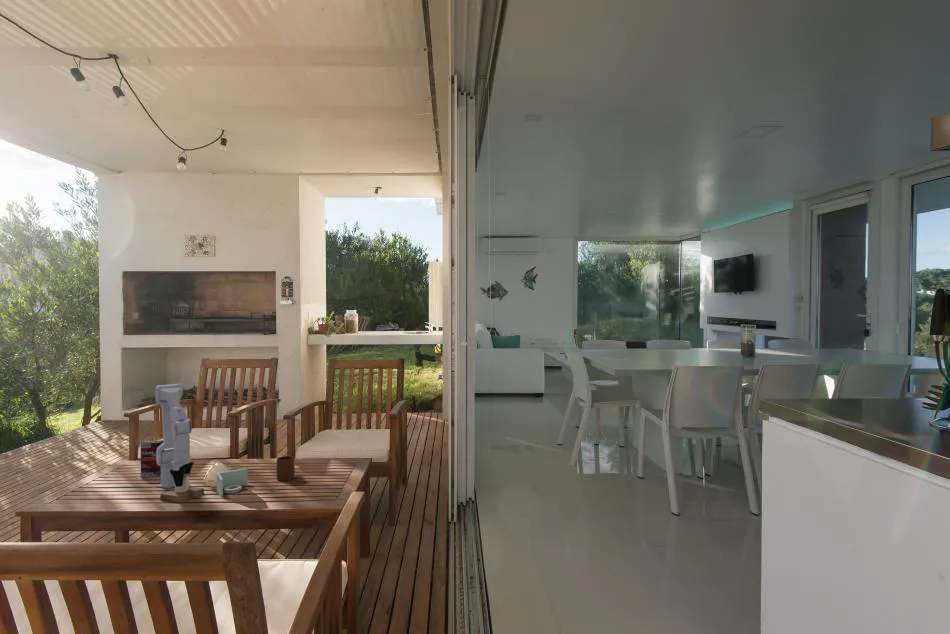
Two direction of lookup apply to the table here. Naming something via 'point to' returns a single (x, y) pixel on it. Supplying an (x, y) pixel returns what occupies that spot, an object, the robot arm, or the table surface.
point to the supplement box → (150, 459)
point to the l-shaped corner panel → (231, 481)
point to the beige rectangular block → (184, 486)
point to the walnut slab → (182, 495)
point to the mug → (285, 468)
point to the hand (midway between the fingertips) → (182, 483)
